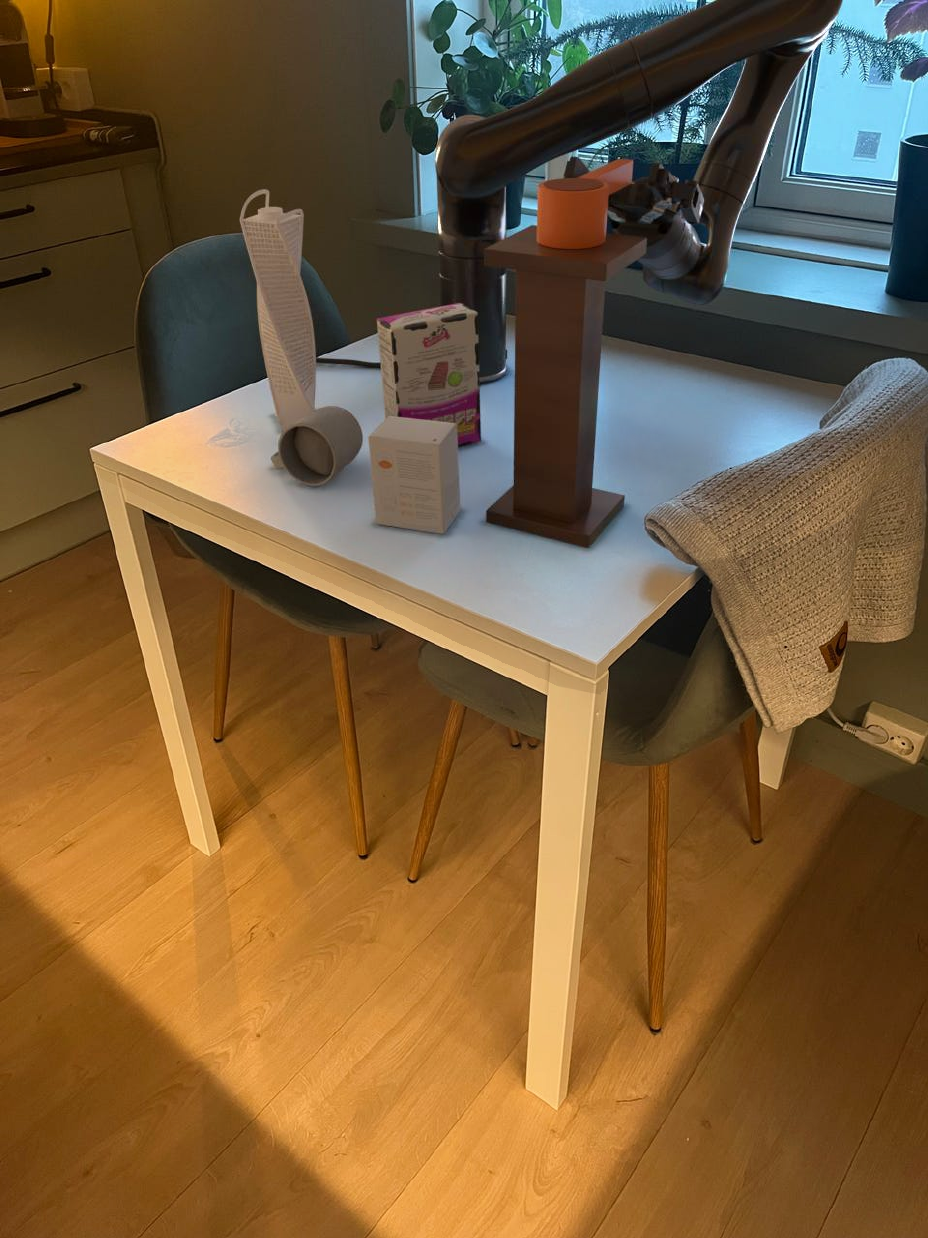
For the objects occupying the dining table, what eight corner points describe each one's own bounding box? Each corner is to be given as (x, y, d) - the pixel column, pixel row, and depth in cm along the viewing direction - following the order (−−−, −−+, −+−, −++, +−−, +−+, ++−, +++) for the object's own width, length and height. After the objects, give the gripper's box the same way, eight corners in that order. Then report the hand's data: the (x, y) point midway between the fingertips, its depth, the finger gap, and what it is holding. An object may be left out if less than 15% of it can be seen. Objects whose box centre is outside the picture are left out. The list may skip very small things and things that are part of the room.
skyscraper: (265, 413, 129) (232, 190, 113) (319, 405, 131) (294, 184, 115) (274, 436, 123) (240, 203, 107) (331, 428, 125) (306, 198, 109)
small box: (461, 511, 106) (459, 422, 100) (444, 536, 101) (440, 444, 95) (394, 501, 108) (388, 413, 102) (374, 525, 104) (367, 434, 98)
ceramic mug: (369, 461, 116) (363, 401, 112) (339, 491, 110) (331, 428, 106) (292, 451, 120) (284, 392, 115) (259, 479, 113) (248, 418, 109)
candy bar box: (463, 428, 124) (460, 300, 114) (482, 442, 120) (480, 311, 111) (384, 447, 120) (374, 316, 110) (401, 462, 116) (392, 328, 107)
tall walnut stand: (526, 484, 111) (531, 224, 94) (624, 506, 106) (647, 237, 89) (485, 522, 104) (483, 248, 87) (588, 548, 99) (606, 263, 82)
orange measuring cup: (593, 208, 100) (596, 156, 97) (652, 214, 97) (656, 161, 94) (524, 244, 88) (525, 187, 85) (589, 252, 85) (592, 193, 83)
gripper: (602, 186, 110) (554, 125, 95) (724, 196, 104) (693, 133, 89) (586, 252, 111) (536, 202, 96) (706, 267, 105) (672, 216, 90)
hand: (612, 169), depth 93 cm, fingers open, 8 cm apart
